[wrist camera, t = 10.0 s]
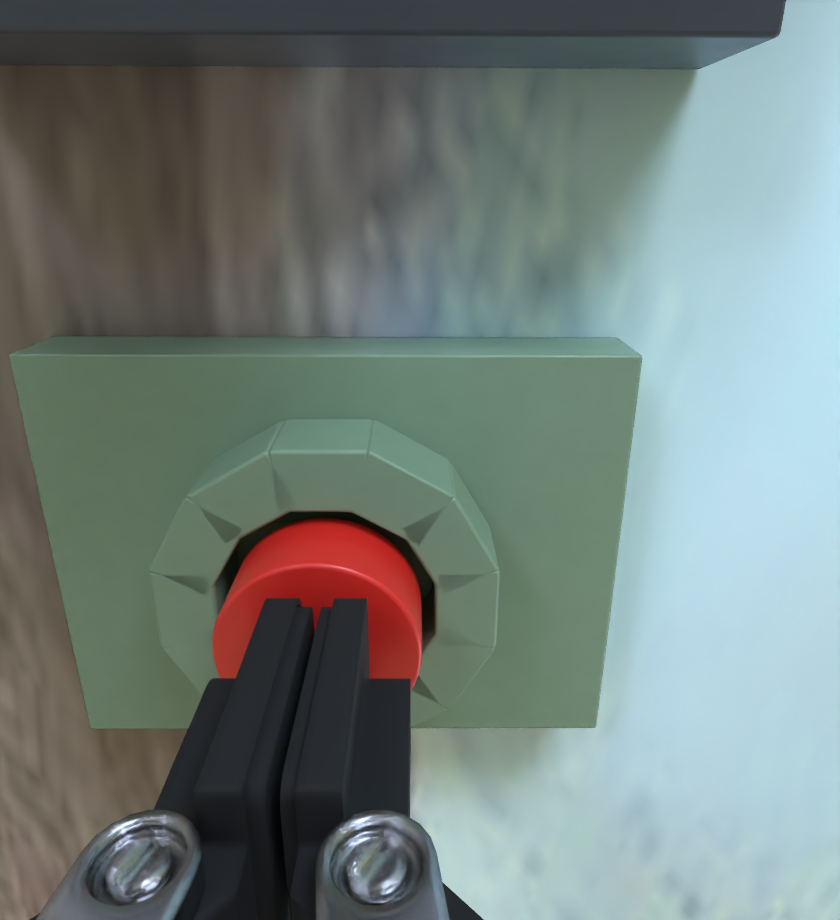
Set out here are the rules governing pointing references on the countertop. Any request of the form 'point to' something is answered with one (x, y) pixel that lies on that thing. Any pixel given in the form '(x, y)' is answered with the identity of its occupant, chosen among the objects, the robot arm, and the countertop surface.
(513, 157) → the countertop surface
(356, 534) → the button
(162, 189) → the countertop surface
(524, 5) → the dial panel
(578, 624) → the button block
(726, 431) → the countertop surface
